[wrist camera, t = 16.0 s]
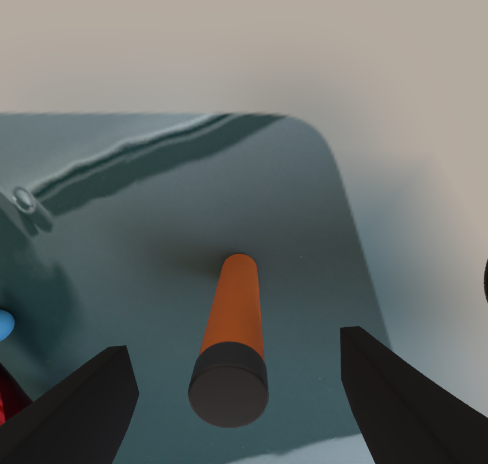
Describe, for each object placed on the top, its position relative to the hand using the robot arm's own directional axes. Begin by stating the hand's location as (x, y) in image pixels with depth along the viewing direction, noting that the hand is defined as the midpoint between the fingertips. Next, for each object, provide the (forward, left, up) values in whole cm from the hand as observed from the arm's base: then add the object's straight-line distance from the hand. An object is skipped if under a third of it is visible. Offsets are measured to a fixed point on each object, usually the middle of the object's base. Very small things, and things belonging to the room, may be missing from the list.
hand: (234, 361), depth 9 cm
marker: (0, 0, -8) cm, 8 cm away
